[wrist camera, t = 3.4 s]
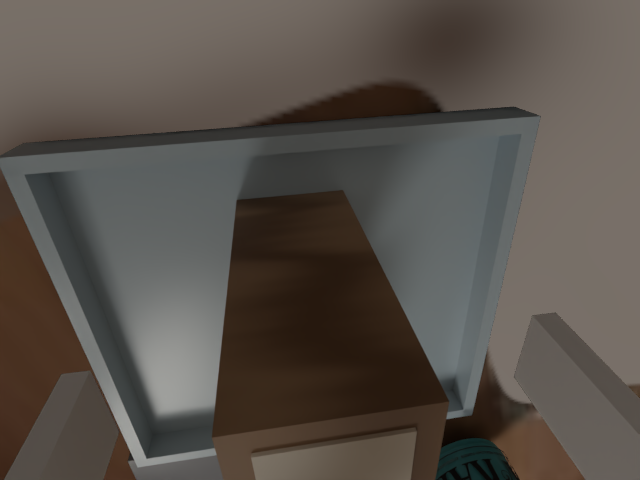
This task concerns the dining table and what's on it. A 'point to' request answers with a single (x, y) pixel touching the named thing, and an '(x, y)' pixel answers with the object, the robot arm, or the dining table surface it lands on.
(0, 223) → the dining table surface
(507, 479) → the beverage bottle
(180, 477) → the slate coaster
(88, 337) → the bin
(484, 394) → the dining table surface
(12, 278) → the dining table surface
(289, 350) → the walnut box
